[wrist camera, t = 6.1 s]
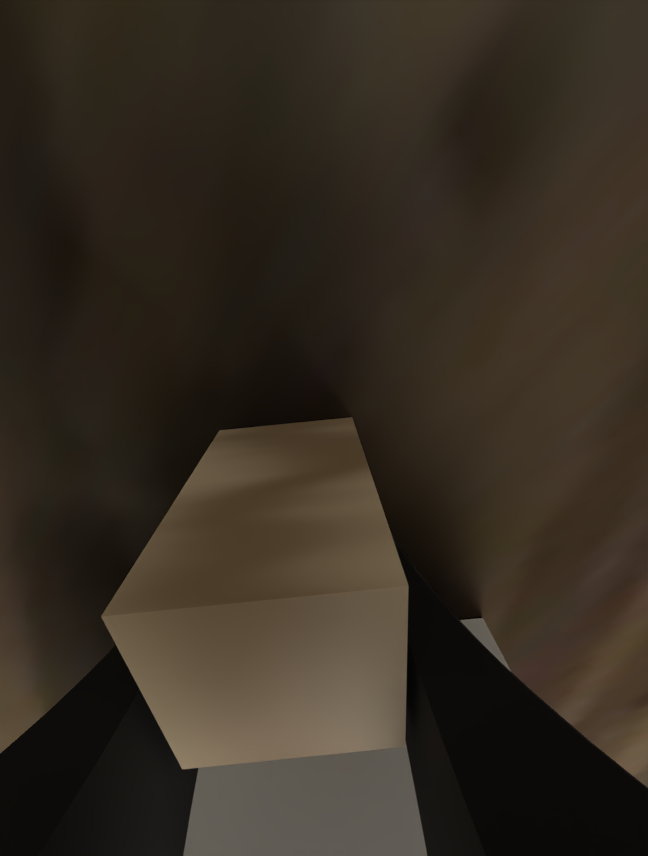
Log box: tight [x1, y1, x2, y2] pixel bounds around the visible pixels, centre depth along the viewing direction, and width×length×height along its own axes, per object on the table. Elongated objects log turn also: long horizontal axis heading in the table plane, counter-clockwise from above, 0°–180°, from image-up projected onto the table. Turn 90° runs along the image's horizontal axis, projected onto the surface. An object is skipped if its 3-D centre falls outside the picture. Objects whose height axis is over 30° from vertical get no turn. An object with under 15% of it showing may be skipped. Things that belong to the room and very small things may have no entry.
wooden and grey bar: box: [101, 417, 409, 769], centre depth 11 cm, size 4×20×6 cm, turn 5°
